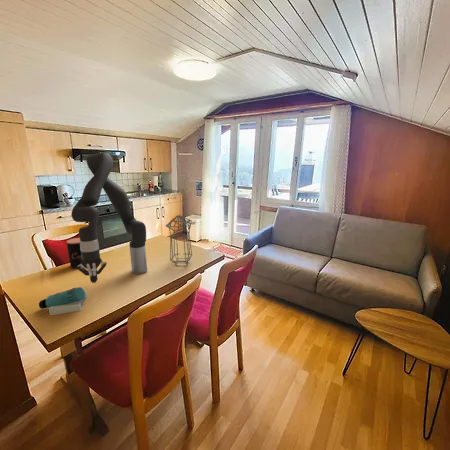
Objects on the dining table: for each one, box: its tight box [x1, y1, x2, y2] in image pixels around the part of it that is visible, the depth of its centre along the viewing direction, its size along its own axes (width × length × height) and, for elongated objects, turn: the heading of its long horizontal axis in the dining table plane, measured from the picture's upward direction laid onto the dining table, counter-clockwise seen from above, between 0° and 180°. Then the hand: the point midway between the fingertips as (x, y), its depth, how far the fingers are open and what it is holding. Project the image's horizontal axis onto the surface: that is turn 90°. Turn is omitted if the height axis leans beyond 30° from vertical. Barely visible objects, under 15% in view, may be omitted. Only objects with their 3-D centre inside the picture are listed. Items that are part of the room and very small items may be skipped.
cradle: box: [48, 289, 88, 316], centre depth 110 cm, size 12×13×4 cm
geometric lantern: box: [165, 214, 193, 267], centre depth 156 cm, size 16×16×35 cm
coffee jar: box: [66, 237, 82, 270], centre depth 151 cm, size 11×11×18 cm
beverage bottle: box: [38, 286, 85, 310], centre depth 107 cm, size 6×7×20 cm
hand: (94, 282), depth 111 cm, fingers closed
